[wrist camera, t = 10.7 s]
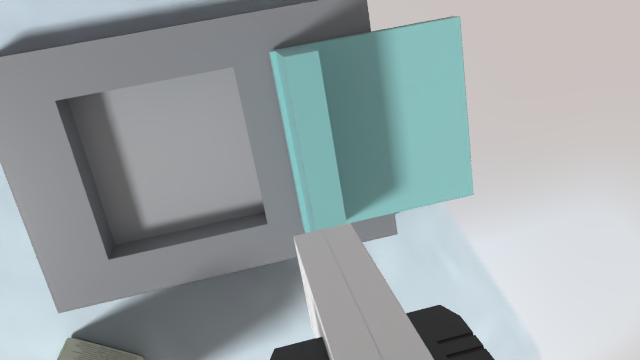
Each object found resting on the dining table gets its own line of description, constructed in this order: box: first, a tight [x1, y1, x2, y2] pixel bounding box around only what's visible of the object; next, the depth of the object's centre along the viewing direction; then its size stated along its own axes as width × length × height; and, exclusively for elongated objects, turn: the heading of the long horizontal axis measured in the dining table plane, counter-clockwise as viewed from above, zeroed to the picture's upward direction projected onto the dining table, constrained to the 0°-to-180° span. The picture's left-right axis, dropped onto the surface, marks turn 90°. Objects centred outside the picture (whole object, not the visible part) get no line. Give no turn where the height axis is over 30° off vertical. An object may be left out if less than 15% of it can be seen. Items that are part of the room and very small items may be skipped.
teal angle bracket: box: [269, 17, 473, 233], centre depth 27 cm, size 10×10×5 cm
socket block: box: [0, 0, 397, 313], centre depth 29 cm, size 20×14×2 cm
